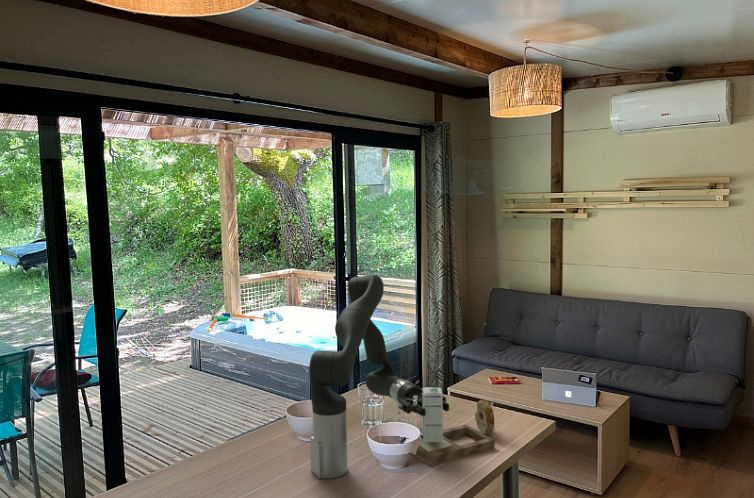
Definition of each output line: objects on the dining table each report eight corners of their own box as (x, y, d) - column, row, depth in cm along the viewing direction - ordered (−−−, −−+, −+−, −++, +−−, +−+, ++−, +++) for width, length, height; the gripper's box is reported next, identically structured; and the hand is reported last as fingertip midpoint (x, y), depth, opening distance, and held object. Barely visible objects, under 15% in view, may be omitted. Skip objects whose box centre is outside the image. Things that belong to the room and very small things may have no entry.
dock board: (429, 466, 158) (428, 456, 157) (402, 447, 170) (402, 438, 170) (494, 448, 169) (494, 439, 169) (465, 432, 181) (465, 423, 181)
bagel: (496, 438, 176) (496, 406, 175) (485, 438, 176) (485, 407, 175) (485, 425, 186) (485, 395, 186) (474, 426, 186) (474, 396, 185)
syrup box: (443, 442, 163) (443, 393, 162) (422, 442, 164) (423, 393, 162) (441, 434, 169) (441, 386, 168) (421, 434, 169) (422, 386, 168)
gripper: (386, 385, 174) (415, 402, 160) (425, 378, 181) (456, 393, 167) (386, 409, 175) (415, 427, 161) (425, 401, 182) (456, 418, 168)
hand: (436, 410), depth 164 cm, fingers closed on syrup box, 7 cm apart
